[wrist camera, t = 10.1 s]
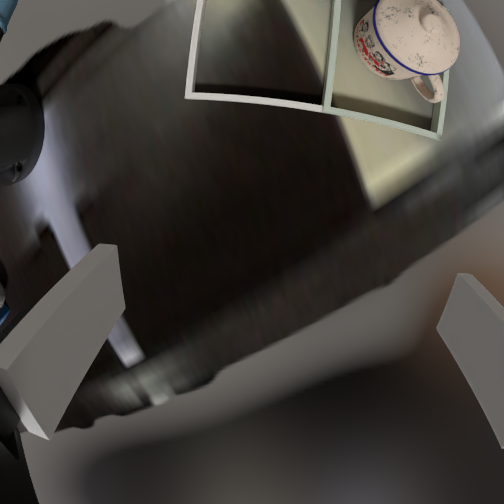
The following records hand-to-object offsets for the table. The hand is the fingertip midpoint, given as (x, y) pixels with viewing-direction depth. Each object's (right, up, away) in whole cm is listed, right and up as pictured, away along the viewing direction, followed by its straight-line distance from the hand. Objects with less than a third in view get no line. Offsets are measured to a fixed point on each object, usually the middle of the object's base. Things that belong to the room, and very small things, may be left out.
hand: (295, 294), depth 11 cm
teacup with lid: (+15, +24, +17) cm, 33 cm away
